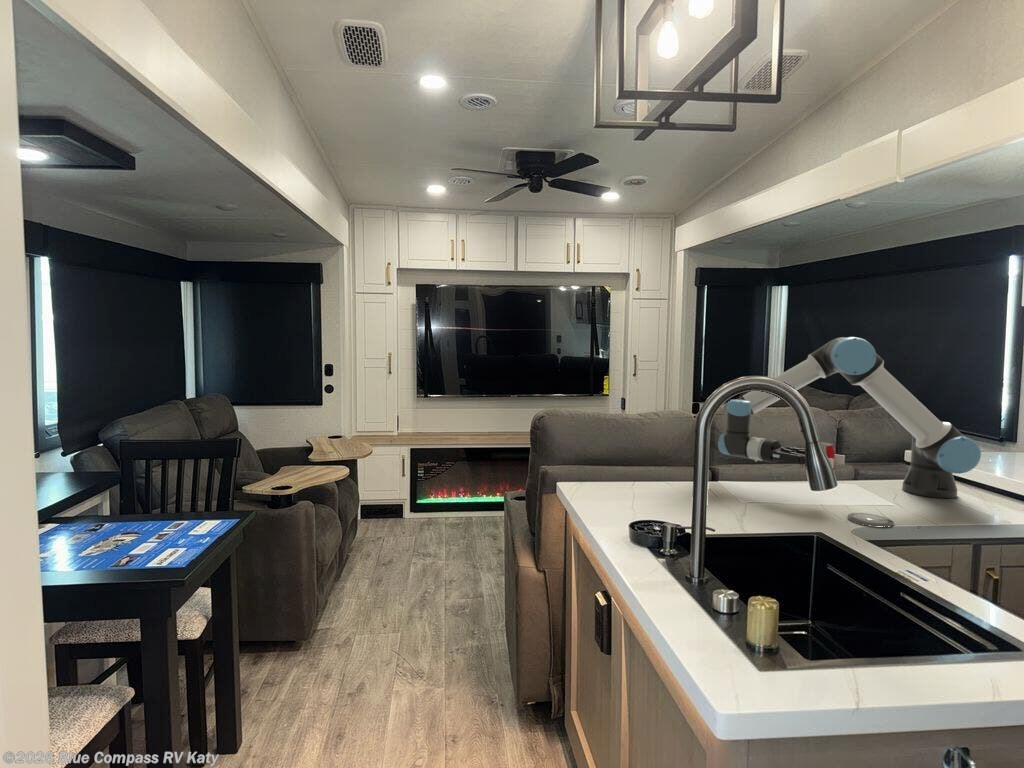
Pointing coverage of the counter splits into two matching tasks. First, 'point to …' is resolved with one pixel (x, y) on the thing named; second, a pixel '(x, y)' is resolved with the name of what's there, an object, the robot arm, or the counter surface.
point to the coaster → (870, 519)
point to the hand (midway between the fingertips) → (838, 461)
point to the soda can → (829, 450)
